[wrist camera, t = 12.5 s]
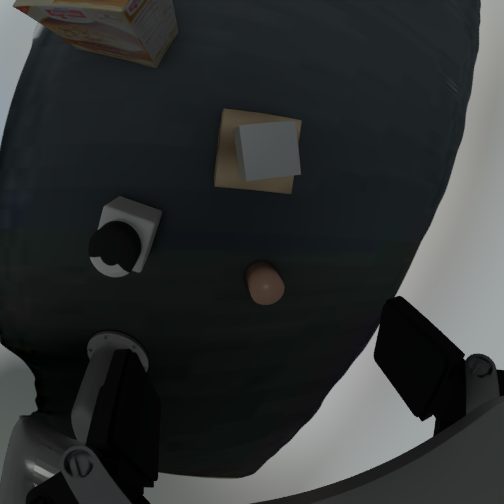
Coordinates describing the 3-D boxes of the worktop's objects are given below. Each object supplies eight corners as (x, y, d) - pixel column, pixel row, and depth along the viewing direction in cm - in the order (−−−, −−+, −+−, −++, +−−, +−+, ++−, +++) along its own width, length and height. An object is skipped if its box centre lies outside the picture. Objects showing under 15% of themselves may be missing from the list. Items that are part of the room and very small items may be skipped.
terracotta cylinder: (276, 286, 46) (285, 301, 41) (247, 291, 45) (252, 307, 41) (274, 258, 44) (283, 272, 40) (243, 263, 44) (248, 278, 39)
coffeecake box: (76, 50, 26) (9, 7, 8) (99, 13, 24) (49, -45, 6) (156, 71, 31) (120, 12, 13) (180, 32, 29) (168, -44, 11)
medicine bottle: (119, 195, 36) (88, 214, 25) (163, 210, 38) (148, 236, 27) (107, 239, 38) (78, 272, 27) (149, 253, 40) (132, 292, 29)
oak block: (281, 188, 41) (291, 194, 36) (213, 182, 39) (214, 186, 34) (290, 123, 37) (301, 120, 32) (221, 113, 35) (223, 108, 31)
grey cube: (285, 169, 35) (300, 174, 29) (239, 175, 34) (246, 181, 28) (280, 124, 32) (295, 120, 27) (233, 129, 32) (239, 125, 26)
